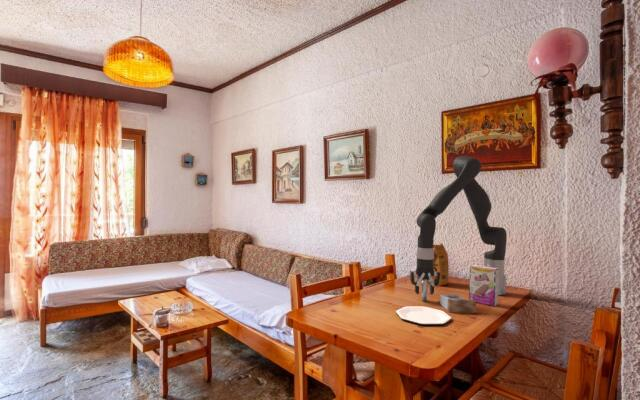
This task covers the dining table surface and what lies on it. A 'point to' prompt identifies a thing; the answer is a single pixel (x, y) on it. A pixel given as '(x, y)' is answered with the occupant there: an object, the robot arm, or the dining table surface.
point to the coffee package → (440, 264)
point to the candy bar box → (484, 285)
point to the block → (445, 298)
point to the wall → (462, 305)
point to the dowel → (424, 290)
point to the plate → (423, 315)
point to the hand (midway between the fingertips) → (424, 293)
